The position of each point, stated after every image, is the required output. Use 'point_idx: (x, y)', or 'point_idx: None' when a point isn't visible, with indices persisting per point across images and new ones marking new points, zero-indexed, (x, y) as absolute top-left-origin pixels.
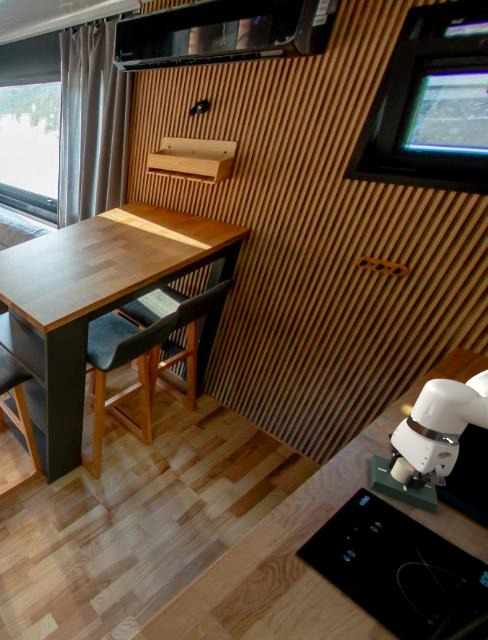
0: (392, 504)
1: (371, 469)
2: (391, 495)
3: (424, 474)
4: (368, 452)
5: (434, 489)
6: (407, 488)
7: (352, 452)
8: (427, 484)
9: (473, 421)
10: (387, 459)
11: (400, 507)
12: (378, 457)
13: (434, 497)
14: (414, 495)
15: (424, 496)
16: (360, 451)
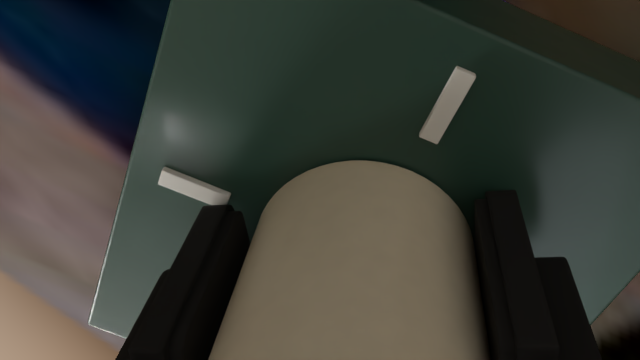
0: (602, 322)
1: None
2: None
3: (229, 12)
4: (14, 209)
5: (487, 42)
6: None
7: (76, 311)
8: (412, 75)
9: None
10: (116, 259)
11: (630, 289)
12: (119, 311)
13: (628, 119)
14: (614, 291)
15: (620, 211)
16: (33, 257)
